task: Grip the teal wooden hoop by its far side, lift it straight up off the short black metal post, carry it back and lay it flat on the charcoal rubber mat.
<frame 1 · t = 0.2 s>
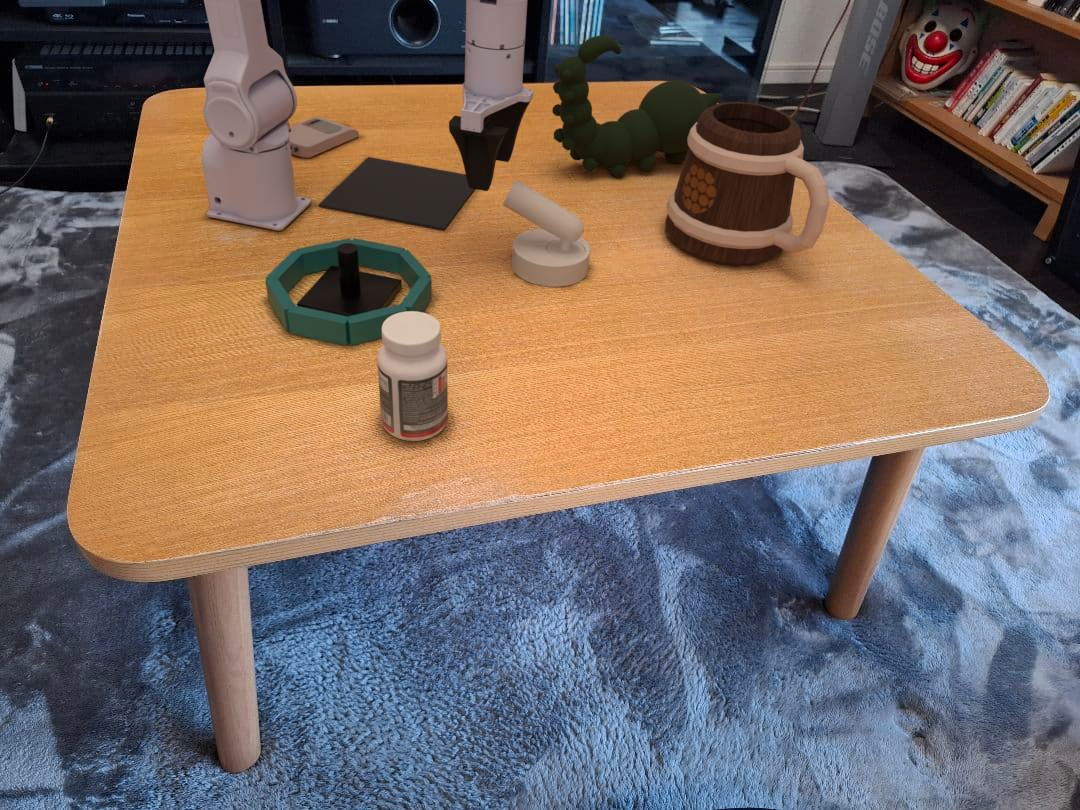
hand: (489, 173, 91), 10 cm above the table, tool pointing down, fingers open, 7 cm apart
hoop: (351, 299, 89), on the table
toy figurine: (632, 167, 120), on the table
pill bottle: (414, 423, 75), on the table
mug: (738, 248, 104), on the table
post: (351, 299, 89), on the table
mat: (404, 192, 108), on the table
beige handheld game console: (311, 144, 118), on the table
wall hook: (543, 267, 97), on the table
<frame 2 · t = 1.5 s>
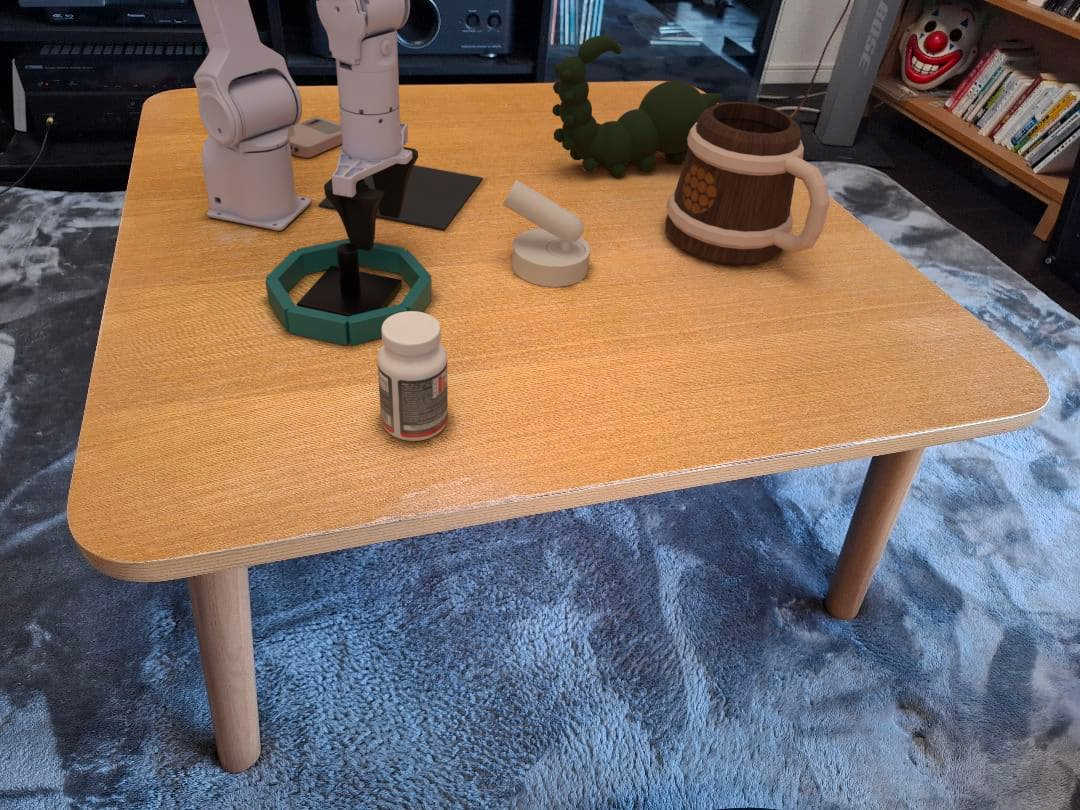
hand: (376, 231, 91), 4 cm above the table, tool pointing down, fingers open, 7 cm apart
nothing on the table moved.
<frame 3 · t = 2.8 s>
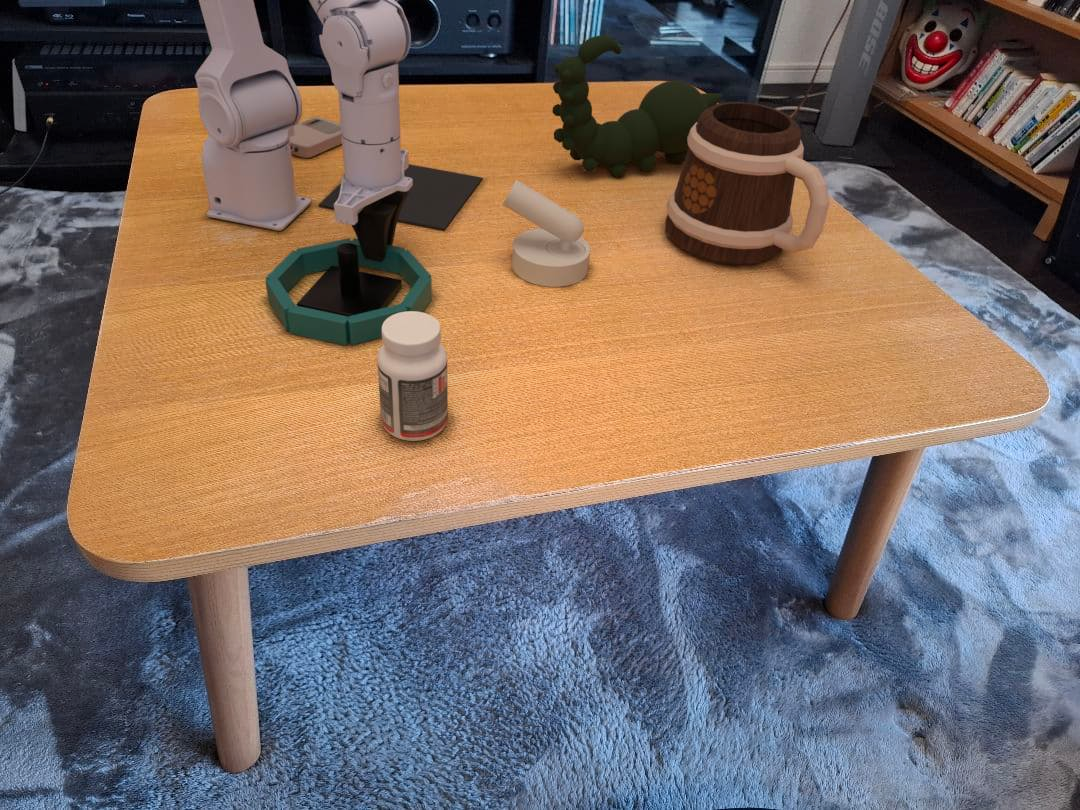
hand: (377, 255, 93), 1 cm above the table, tool pointing down, fingers closed on hoop
hoop: (351, 299, 89), on the table, touching gripper
everything else where it was.
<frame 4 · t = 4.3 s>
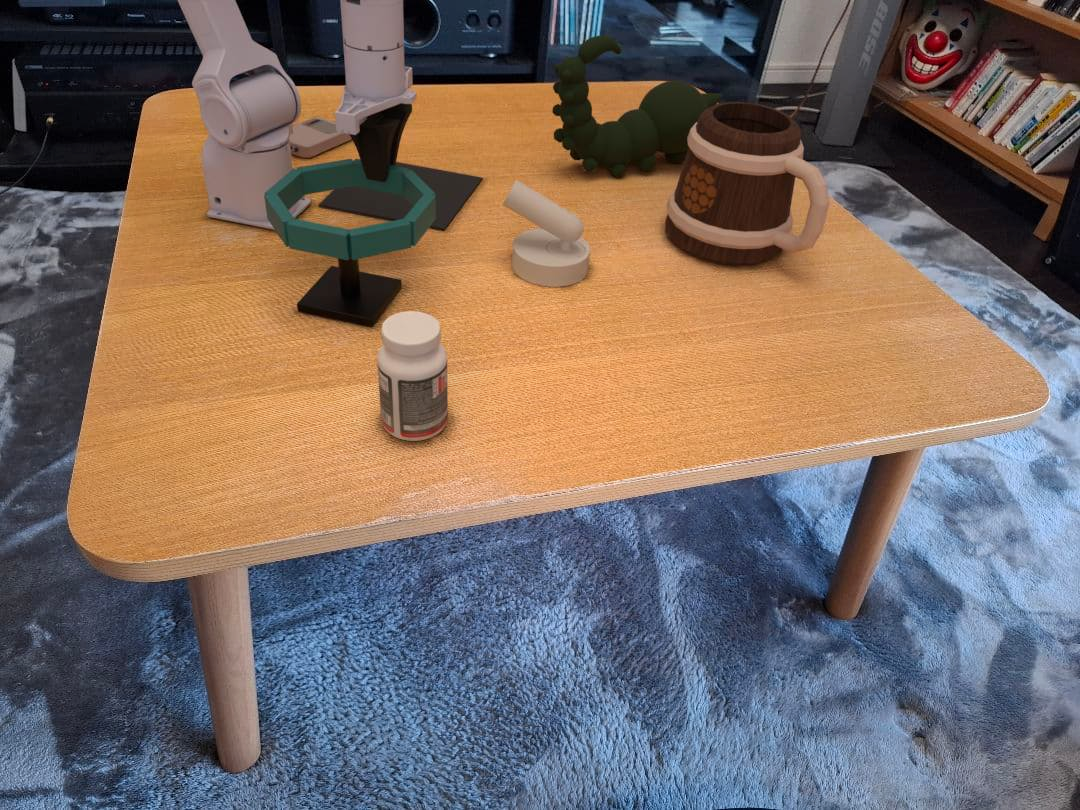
hand: (380, 176, 90), 9 cm above the table, tool pointing down, fingers closed on hoop
hoop: (352, 218, 86), point 8 cm above the table, touching gripper
everything else where it was.
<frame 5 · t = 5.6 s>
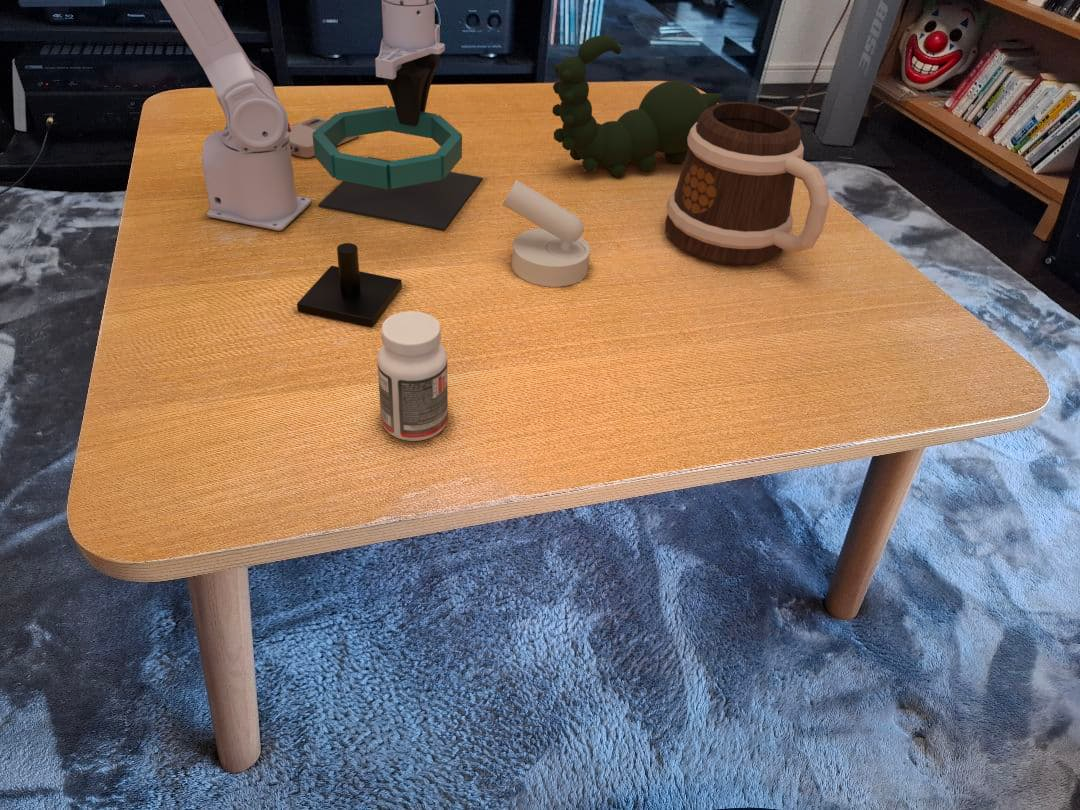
hand: (411, 121, 102), 9 cm above the table, tool pointing down, fingers closed on hoop
hoop: (389, 156, 98), point 8 cm above the table, touching gripper
everything else where it was.
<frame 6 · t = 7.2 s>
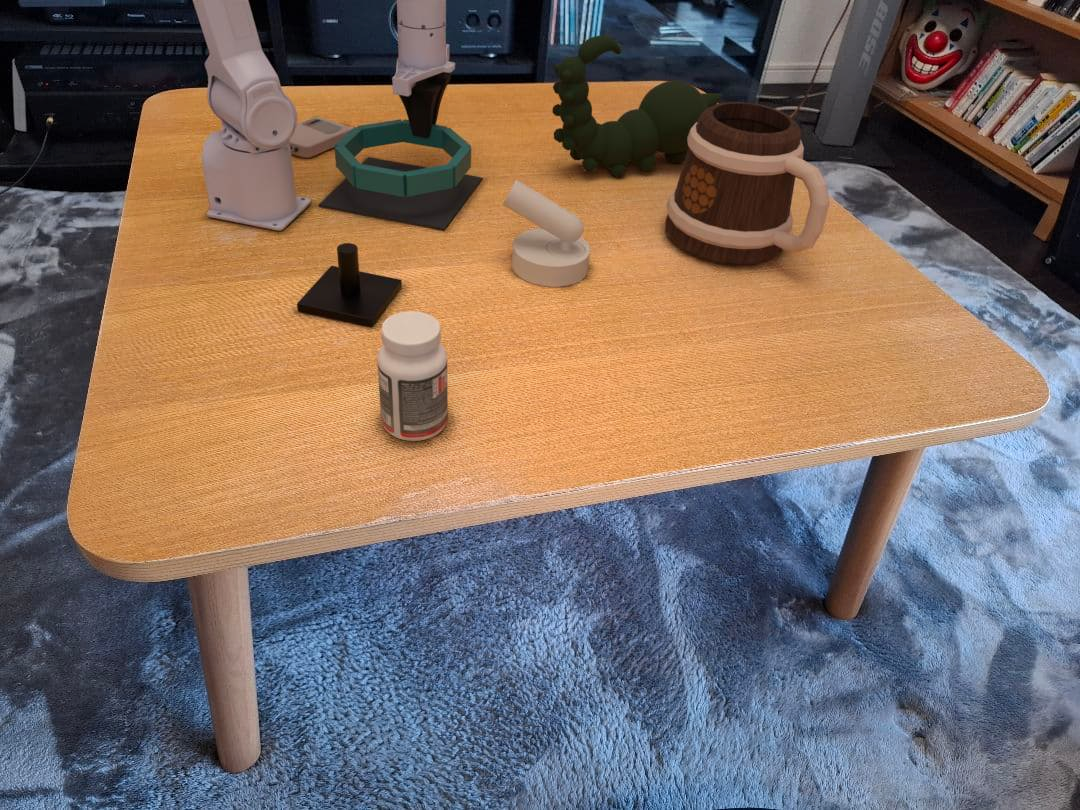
hand: (423, 133, 111), 5 cm above the table, tool pointing down, fingers closed on hoop
hoop: (404, 166, 106), point 4 cm above the table, touching gripper
everything else where it was.
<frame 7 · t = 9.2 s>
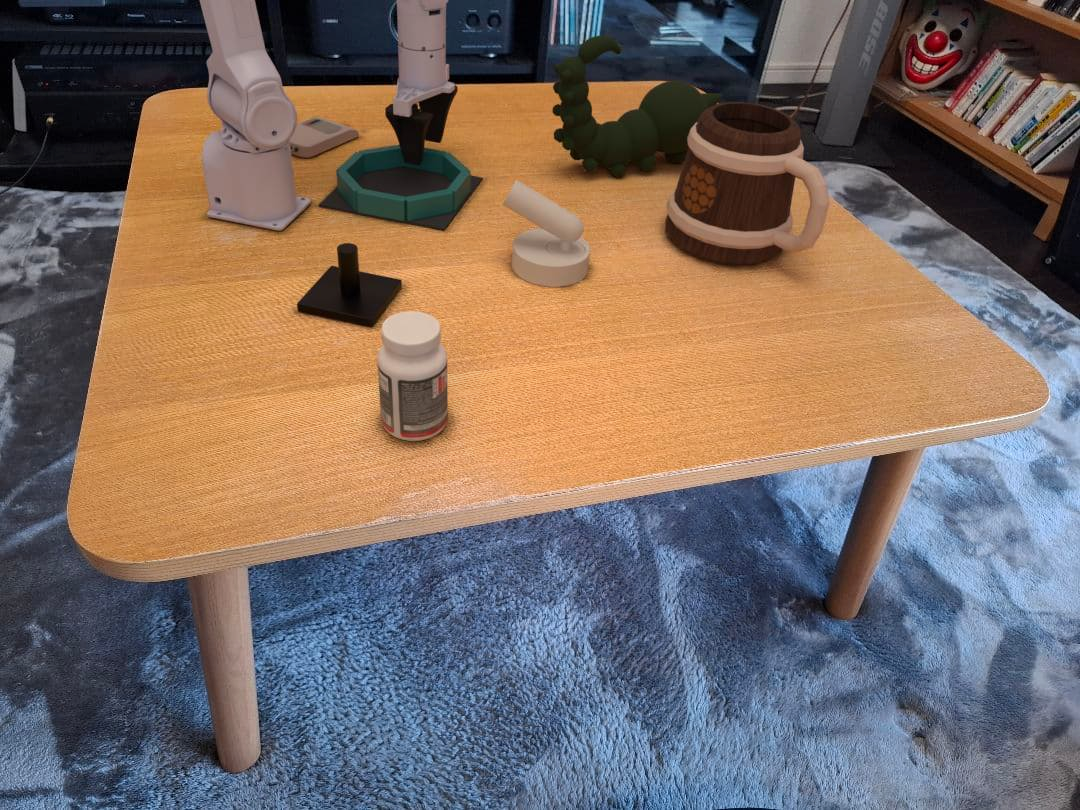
hand: (423, 151, 112), 3 cm above the table, tool pointing down, fingers open, 7 cm apart
hoop: (404, 190, 108), resting on mat
everything else where it was.
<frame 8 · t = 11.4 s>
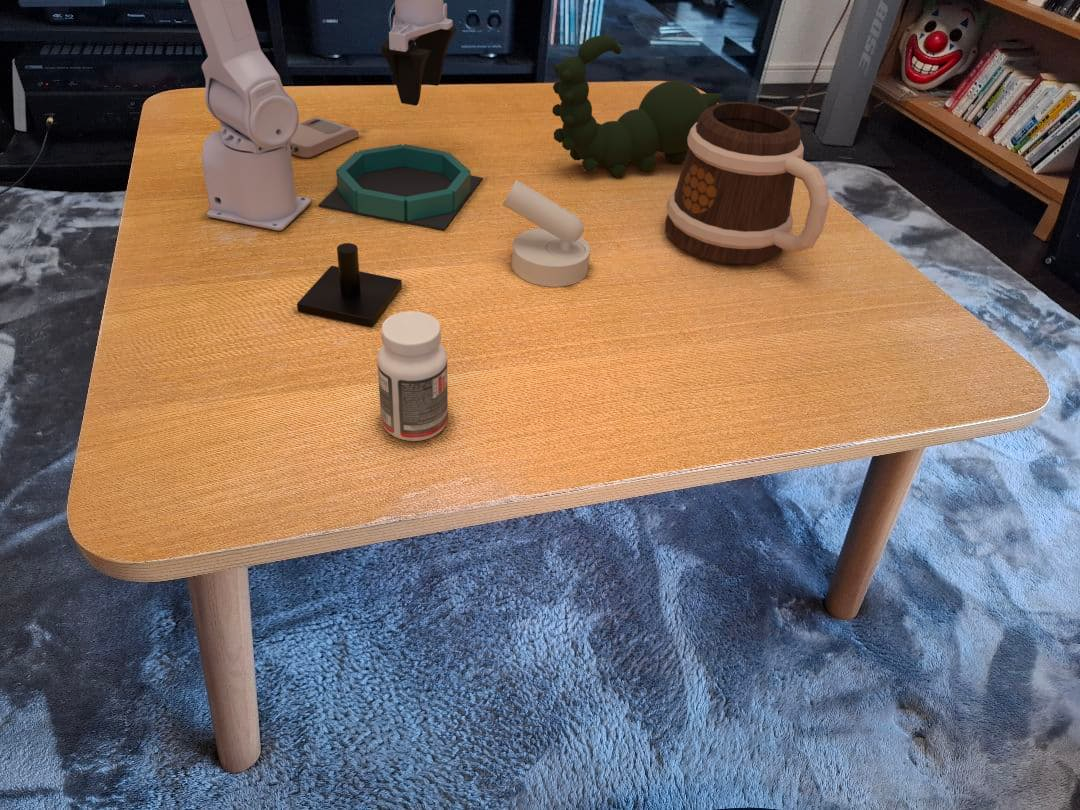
hand: (420, 93, 109), 9 cm above the table, tool pointing down, fingers open, 7 cm apart
nothing on the table moved.
at the end: hoop inside the target area on the mat (0.1 cm from its centre), point 0.3 cm above the mat's base; hoop tilted 0°; the gripper is holding nothing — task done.
